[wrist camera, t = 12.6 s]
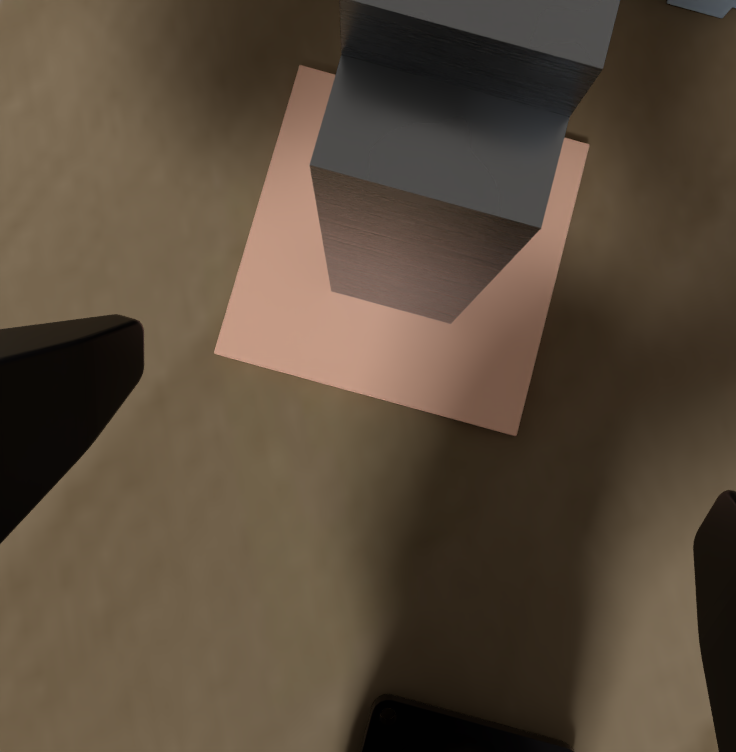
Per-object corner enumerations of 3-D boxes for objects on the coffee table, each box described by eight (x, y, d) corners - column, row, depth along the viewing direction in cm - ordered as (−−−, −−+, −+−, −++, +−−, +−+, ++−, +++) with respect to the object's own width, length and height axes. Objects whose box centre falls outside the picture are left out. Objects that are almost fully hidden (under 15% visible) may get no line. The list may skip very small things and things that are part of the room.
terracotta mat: (585, 150, 21) (589, 144, 20) (513, 435, 20) (516, 435, 20) (300, 71, 21) (299, 64, 20) (216, 354, 20) (213, 353, 20)
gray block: (506, 112, 20) (683, -253, 9) (450, 323, 20) (571, 196, 9) (390, 80, 20) (432, -322, 9) (331, 291, 20) (302, 123, 9)
